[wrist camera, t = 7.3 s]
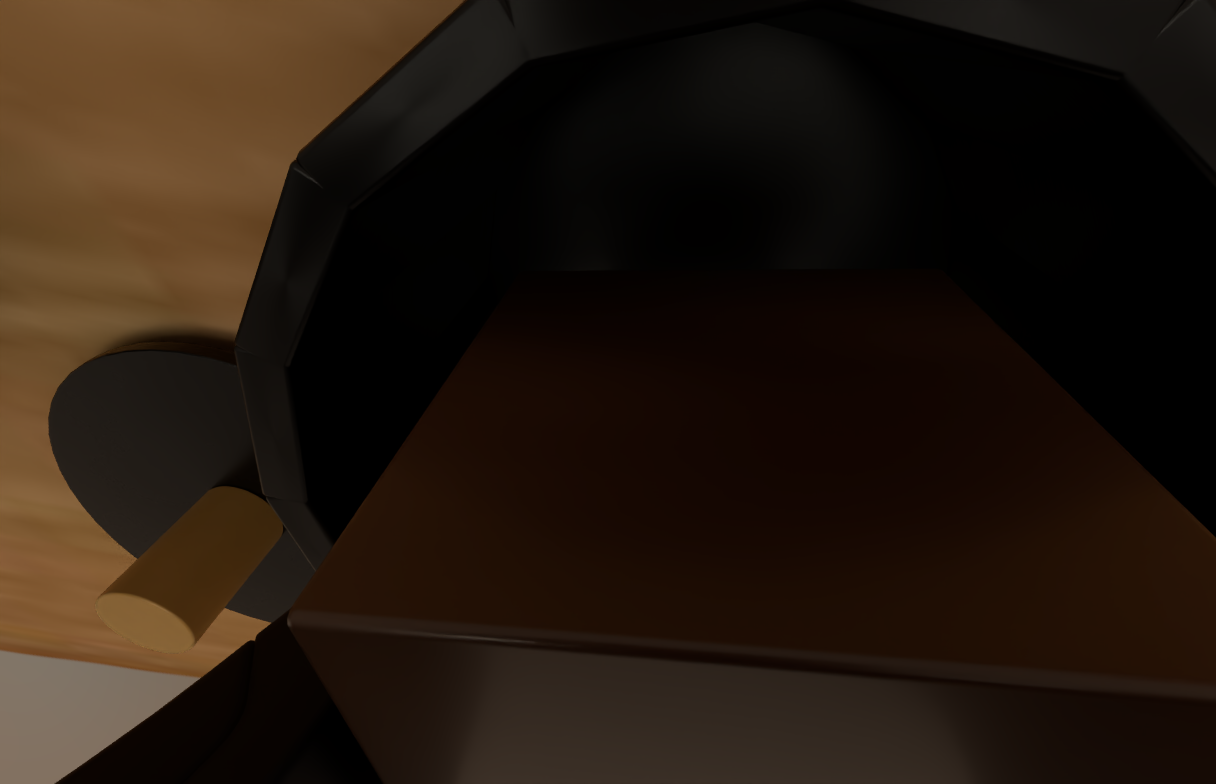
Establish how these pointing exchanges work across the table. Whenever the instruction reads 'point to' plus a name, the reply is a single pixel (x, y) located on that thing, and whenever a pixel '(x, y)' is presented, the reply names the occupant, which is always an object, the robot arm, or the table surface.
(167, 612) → the lid
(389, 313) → the pot
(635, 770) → the block
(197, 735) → the robot arm
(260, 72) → the table surface
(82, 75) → the table surface
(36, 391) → the table surface
